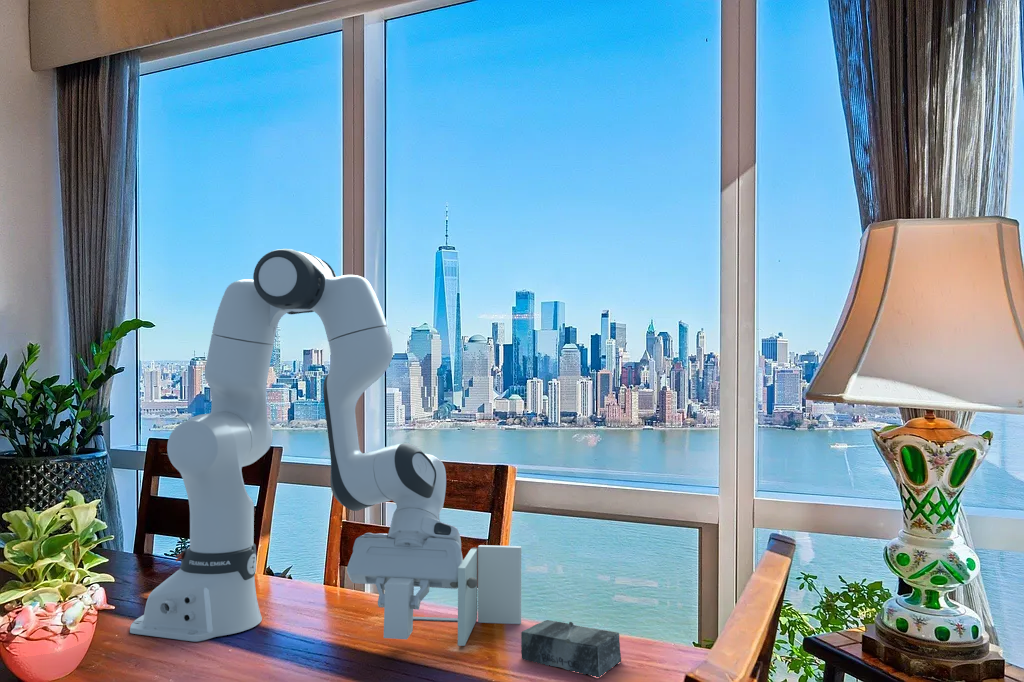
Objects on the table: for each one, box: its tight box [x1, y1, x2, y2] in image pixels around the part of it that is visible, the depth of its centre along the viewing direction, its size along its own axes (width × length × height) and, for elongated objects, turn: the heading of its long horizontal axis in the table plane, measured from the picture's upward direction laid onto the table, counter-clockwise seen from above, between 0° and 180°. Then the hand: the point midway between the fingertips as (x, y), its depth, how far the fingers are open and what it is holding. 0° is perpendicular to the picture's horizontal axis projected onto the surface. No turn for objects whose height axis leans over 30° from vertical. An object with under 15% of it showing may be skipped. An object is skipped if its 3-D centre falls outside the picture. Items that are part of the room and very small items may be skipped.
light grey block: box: [383, 577, 415, 640], centre depth 131 cm, size 4×4×9 cm
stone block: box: [520, 619, 622, 677], centre depth 126 cm, size 9×14×5 cm, turn 55°
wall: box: [413, 544, 522, 625], centre depth 145 cm, size 23×1×14 cm, turn 84°
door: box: [450, 547, 478, 647], centre depth 138 cm, size 15×5×13 cm, turn 174°
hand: (398, 606), depth 130 cm, fingers closed on light grey block, 4 cm apart
